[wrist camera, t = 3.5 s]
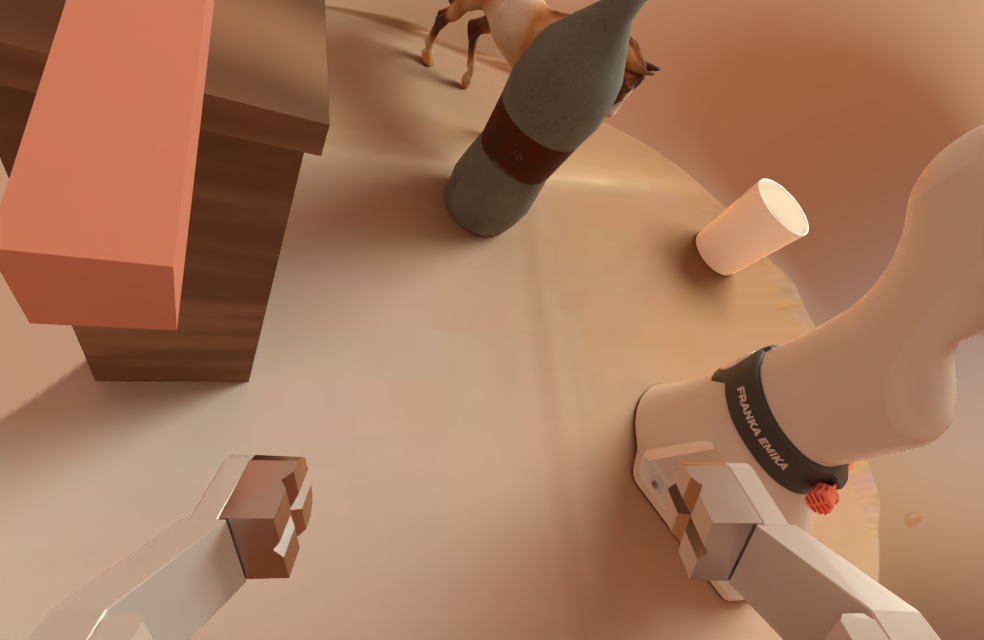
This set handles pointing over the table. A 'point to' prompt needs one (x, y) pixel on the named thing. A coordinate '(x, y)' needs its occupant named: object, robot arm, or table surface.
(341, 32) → the table surface
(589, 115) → the bottle
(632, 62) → the horse figurine
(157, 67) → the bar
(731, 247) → the candle holder
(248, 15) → the stand
